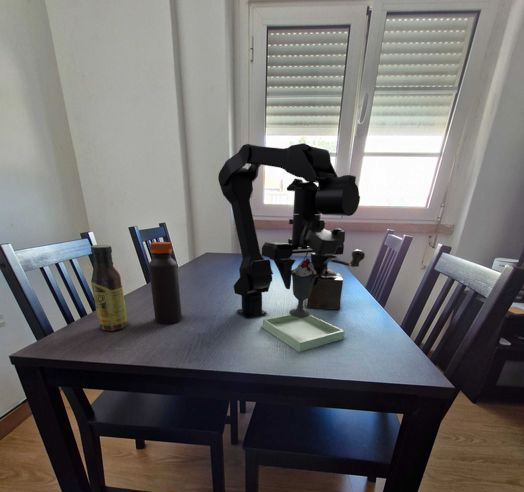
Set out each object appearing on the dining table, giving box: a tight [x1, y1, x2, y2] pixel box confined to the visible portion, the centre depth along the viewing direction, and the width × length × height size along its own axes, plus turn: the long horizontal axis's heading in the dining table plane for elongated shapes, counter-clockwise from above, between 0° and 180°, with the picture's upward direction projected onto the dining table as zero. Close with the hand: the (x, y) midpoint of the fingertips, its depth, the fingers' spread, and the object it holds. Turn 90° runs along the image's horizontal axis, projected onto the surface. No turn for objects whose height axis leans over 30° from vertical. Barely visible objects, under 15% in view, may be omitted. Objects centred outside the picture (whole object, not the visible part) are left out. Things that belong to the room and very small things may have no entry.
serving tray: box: [262, 313, 346, 353], centre depth 69 cm, size 15×13×2 cm
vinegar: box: [148, 241, 183, 325], centre depth 72 cm, size 7×7×20 cm
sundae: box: [289, 253, 319, 318], centre depth 65 cm, size 7×7×15 cm
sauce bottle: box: [90, 244, 128, 332], centre depth 66 cm, size 6×6×20 cm
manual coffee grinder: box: [305, 249, 366, 310], centre depth 87 cm, size 16×11×18 cm
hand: (301, 287), depth 64 cm, fingers closed on sundae, 7 cm apart
